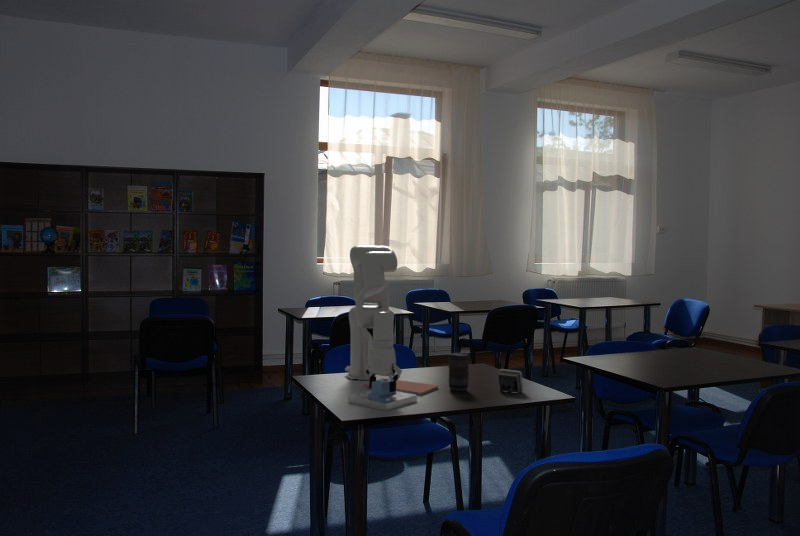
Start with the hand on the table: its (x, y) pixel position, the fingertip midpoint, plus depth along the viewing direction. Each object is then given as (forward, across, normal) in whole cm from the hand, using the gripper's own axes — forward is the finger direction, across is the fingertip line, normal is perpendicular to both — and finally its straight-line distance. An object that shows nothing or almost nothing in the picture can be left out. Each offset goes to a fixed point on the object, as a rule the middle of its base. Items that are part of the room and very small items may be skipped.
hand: (382, 389), depth 239 cm
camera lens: (+4, +12, +33) cm, 35 cm away
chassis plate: (+4, +1, -1) cm, 5 cm away
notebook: (+5, -9, +22) cm, 24 cm away
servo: (+4, 0, 0) cm, 4 cm away
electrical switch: (+5, +29, +45) cm, 54 cm away
